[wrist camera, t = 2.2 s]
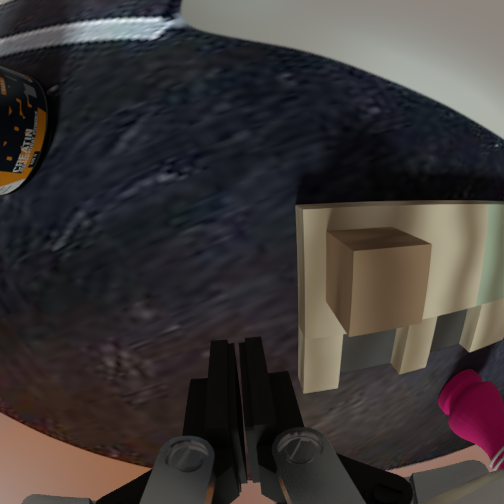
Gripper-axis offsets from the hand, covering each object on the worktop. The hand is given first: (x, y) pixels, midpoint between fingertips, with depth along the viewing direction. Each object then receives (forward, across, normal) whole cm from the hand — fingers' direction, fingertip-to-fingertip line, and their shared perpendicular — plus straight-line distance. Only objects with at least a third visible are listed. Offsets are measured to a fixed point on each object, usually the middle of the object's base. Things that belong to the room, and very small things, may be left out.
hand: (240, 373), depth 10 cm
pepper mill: (+13, -26, +19) cm, 34 cm away
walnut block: (+10, -9, 0) cm, 13 cm away
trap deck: (+13, -17, +4) cm, 21 cm away
